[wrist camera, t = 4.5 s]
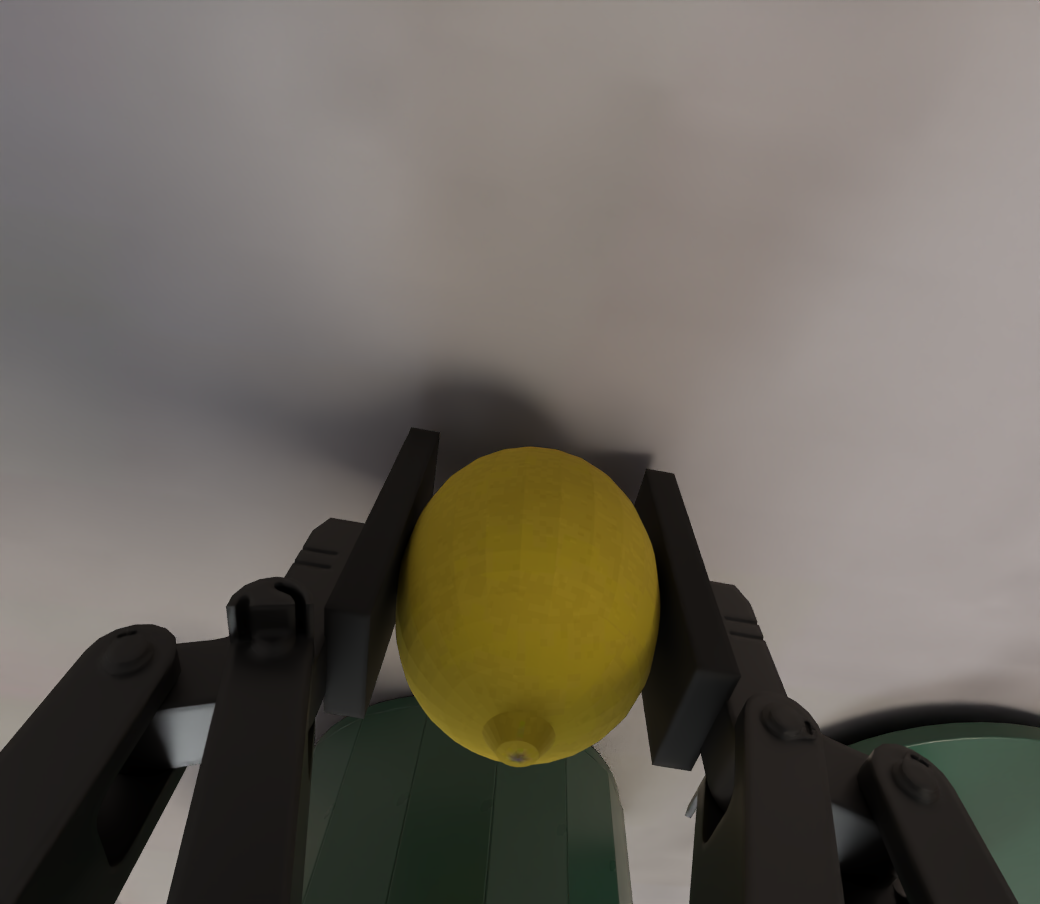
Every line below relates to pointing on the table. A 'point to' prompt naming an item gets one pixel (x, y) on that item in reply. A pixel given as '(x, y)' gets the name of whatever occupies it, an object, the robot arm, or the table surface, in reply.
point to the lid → (989, 788)
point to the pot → (456, 821)
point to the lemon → (528, 606)
